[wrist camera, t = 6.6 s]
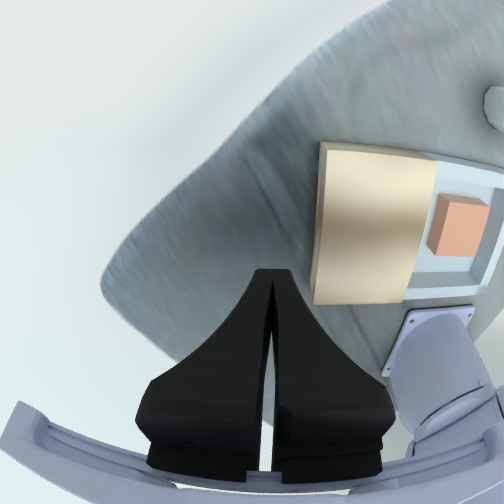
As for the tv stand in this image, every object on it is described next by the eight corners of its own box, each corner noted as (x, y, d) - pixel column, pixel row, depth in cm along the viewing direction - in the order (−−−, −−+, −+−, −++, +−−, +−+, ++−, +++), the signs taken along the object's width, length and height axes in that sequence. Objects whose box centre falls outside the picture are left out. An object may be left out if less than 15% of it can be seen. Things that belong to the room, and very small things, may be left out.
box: (471, 278, 20) (483, 294, 18) (391, 280, 20) (400, 299, 18) (504, 169, 14) (522, 179, 12) (418, 151, 15) (435, 160, 13)
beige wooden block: (391, 280, 20) (401, 302, 18) (309, 281, 21) (313, 304, 19) (418, 151, 15) (437, 161, 13) (319, 141, 15) (327, 149, 13)
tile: (435, 256, 17) (426, 244, 18) (475, 256, 16) (465, 246, 18) (449, 201, 15) (439, 193, 16) (490, 207, 14) (479, 198, 16)
